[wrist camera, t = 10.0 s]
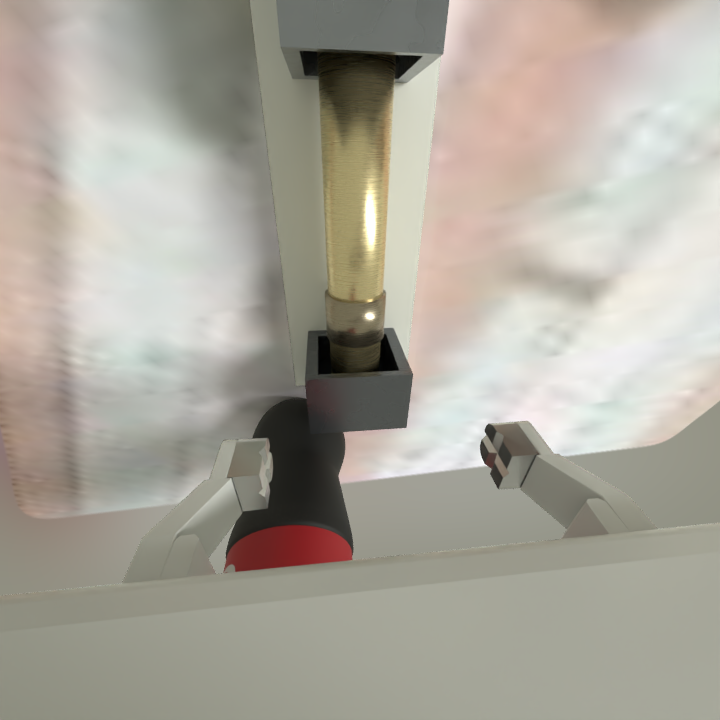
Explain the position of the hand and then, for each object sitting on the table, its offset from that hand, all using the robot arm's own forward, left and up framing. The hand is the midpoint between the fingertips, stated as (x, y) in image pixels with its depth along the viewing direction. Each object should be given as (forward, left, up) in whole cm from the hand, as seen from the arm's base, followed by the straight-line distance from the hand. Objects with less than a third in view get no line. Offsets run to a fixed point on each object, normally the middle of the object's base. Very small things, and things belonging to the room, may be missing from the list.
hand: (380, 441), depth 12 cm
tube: (-4, 0, -14) cm, 14 cm away
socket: (+6, 0, -15) cm, 16 cm away
